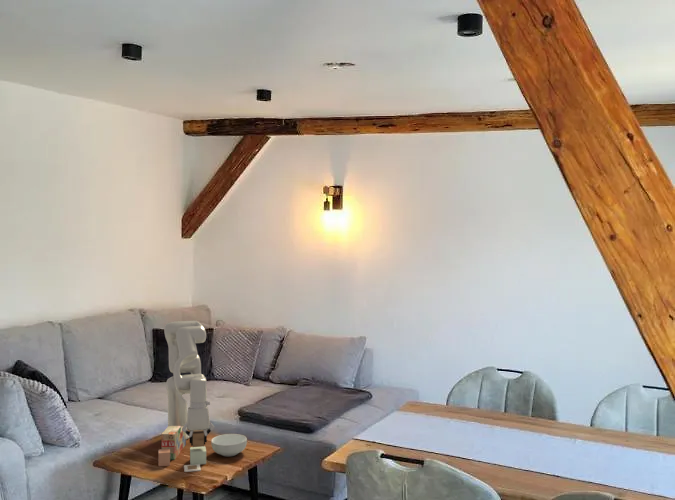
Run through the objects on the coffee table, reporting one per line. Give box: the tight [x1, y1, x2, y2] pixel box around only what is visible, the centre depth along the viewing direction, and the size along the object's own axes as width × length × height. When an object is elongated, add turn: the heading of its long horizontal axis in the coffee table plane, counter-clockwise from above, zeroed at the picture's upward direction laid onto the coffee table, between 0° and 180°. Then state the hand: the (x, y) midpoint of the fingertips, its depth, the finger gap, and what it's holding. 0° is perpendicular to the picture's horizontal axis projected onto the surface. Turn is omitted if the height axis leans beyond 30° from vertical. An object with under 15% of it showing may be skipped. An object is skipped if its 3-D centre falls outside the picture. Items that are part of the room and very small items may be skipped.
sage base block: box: [189, 445, 207, 465], centre depth 302 cm, size 7×7×6 cm
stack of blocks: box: [160, 425, 187, 461], centre depth 315 cm, size 21×6×12 cm, turn 179°
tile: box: [183, 464, 202, 473], centre depth 293 cm, size 7×7×1 cm
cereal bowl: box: [210, 433, 248, 457], centre depth 313 cm, size 17×17×7 cm
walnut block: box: [192, 430, 205, 447], centre depth 301 cm, size 5×5×6 cm
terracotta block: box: [157, 448, 171, 467], centre depth 299 cm, size 5×5×6 cm
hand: (198, 443), depth 302 cm, fingers closed on walnut block, 5 cm apart
